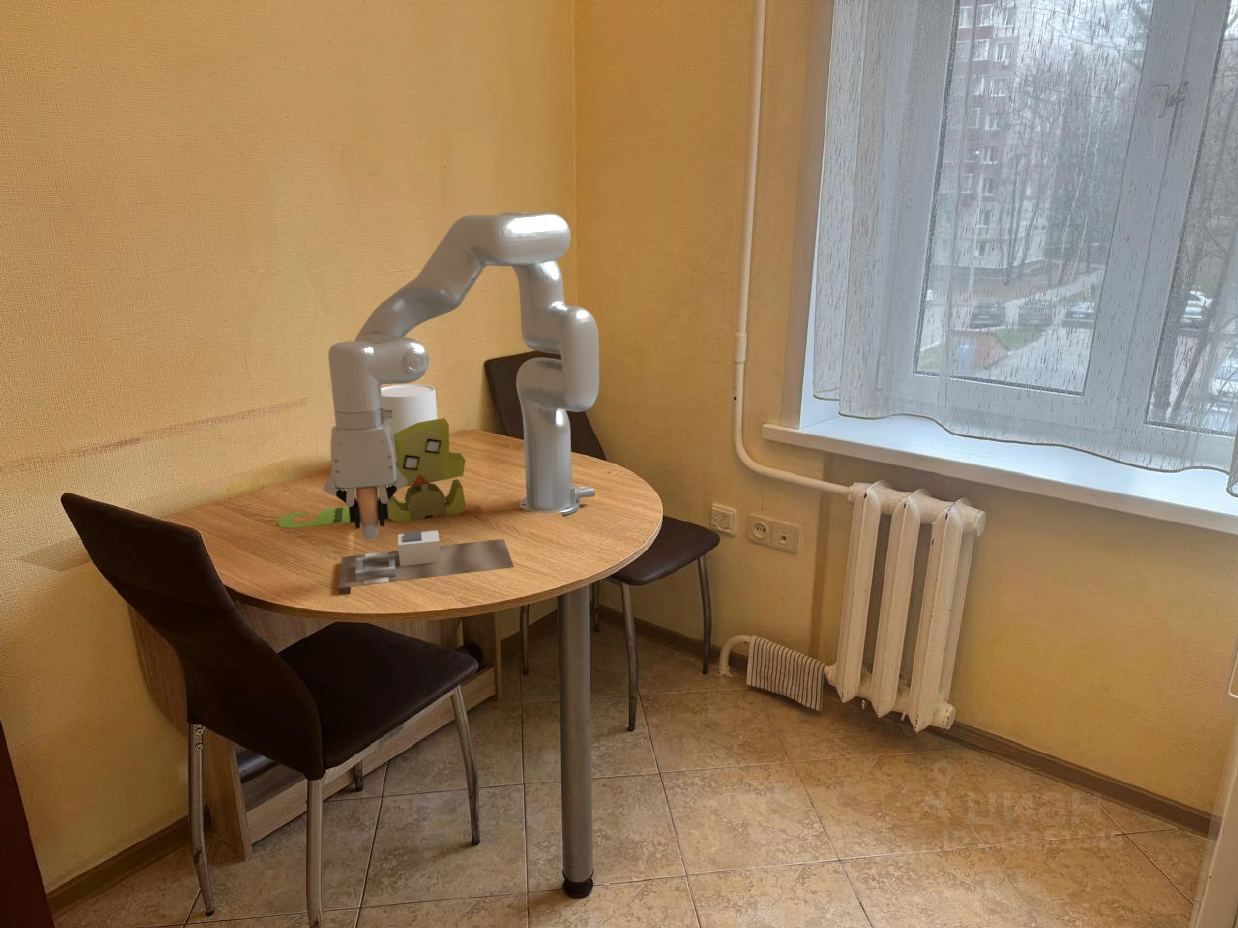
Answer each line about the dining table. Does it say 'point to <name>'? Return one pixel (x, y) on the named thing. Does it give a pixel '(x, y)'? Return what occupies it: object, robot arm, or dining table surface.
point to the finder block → (419, 548)
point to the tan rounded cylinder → (368, 510)
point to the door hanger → (319, 518)
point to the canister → (409, 405)
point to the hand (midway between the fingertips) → (369, 523)
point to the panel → (452, 562)
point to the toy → (427, 472)
